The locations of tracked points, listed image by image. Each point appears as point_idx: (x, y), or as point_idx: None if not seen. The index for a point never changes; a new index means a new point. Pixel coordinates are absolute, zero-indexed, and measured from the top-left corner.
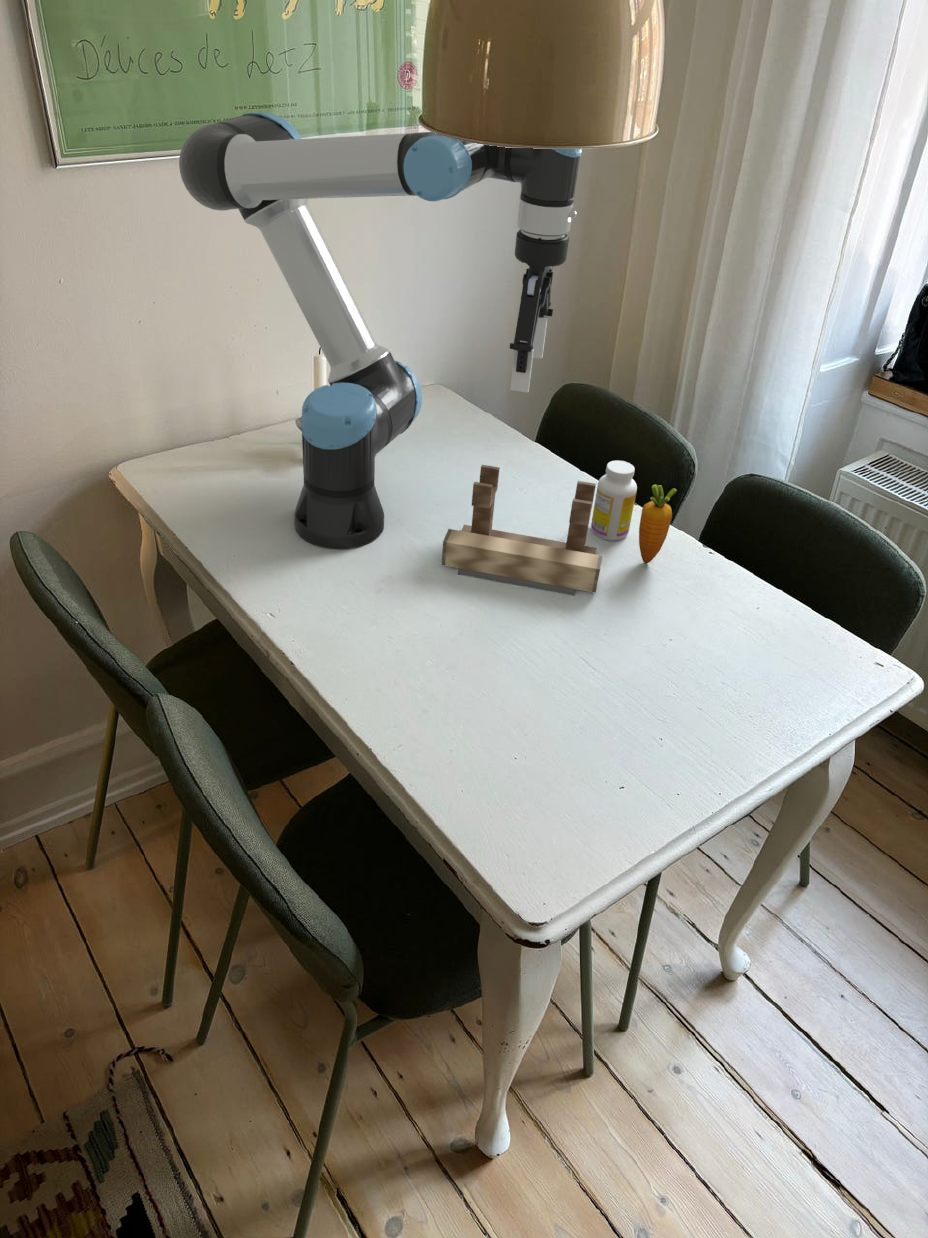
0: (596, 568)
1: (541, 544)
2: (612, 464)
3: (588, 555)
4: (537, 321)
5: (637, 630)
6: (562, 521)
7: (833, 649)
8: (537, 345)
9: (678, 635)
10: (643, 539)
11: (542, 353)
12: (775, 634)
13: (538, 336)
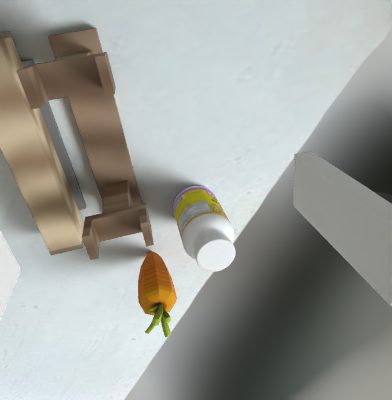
0: (50, 251)
1: (112, 152)
2: (218, 245)
3: (72, 235)
4: (382, 260)
5: (28, 282)
6: (191, 150)
7: (110, 385)
8: (316, 210)
9: (47, 309)
10: (141, 272)
11: (302, 214)
12: (103, 357)
13: (337, 229)
